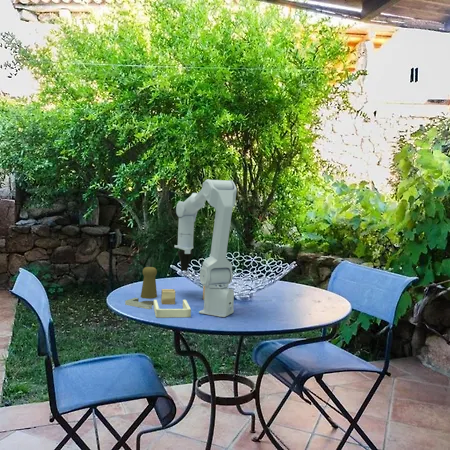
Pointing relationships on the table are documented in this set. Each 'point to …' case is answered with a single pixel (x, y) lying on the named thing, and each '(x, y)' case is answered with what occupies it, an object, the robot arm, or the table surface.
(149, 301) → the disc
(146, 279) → the cork
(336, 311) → the table surface
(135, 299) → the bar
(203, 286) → the tan rounded-top cylinder
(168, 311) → the u-shaped bracket
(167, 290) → the block
